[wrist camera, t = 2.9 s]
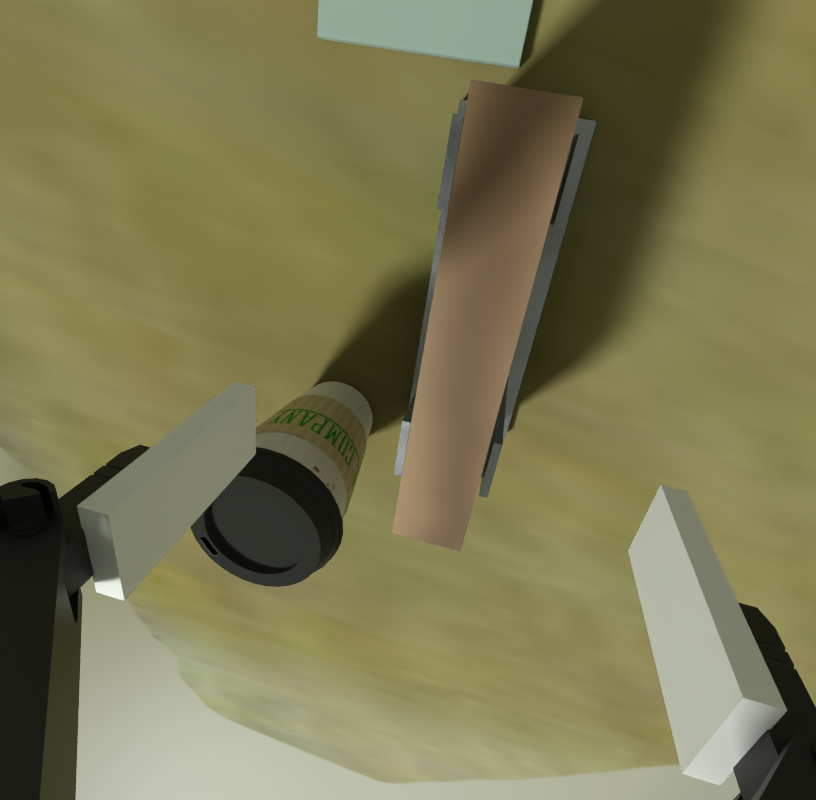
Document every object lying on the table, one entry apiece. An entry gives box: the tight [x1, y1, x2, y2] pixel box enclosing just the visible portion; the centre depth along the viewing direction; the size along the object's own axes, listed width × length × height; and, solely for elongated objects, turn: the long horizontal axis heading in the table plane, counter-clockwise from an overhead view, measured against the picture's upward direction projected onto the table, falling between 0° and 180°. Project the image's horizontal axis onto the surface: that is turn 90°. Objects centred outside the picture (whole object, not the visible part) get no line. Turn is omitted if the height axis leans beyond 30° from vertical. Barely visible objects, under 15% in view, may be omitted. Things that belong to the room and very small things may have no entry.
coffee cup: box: [191, 381, 373, 587], centre depth 36 cm, size 10×10×15 cm
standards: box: [394, 100, 597, 498], centre depth 31 cm, size 8×22×10 cm, turn 172°
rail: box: [392, 80, 584, 551], centre depth 25 cm, size 4×22×6 cm, turn 172°
